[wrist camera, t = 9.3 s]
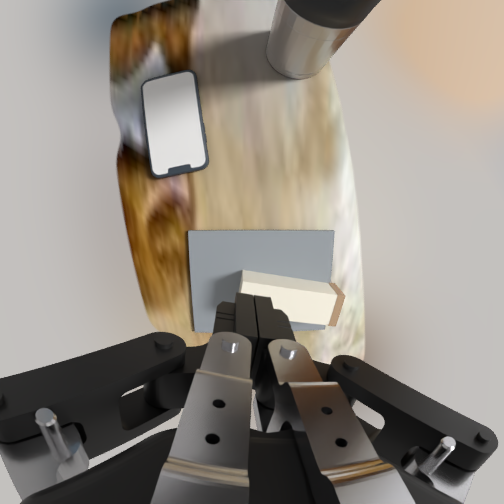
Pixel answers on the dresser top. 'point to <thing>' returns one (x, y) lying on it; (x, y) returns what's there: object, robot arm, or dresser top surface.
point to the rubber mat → (252, 264)
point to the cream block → (296, 296)
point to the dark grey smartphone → (174, 124)
